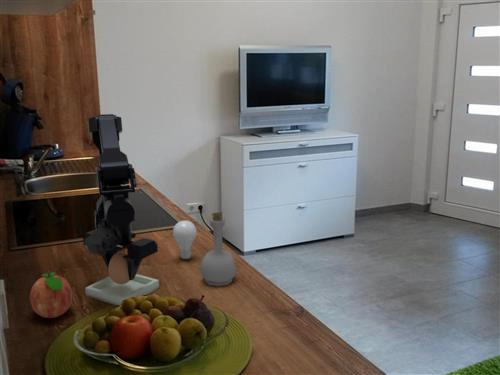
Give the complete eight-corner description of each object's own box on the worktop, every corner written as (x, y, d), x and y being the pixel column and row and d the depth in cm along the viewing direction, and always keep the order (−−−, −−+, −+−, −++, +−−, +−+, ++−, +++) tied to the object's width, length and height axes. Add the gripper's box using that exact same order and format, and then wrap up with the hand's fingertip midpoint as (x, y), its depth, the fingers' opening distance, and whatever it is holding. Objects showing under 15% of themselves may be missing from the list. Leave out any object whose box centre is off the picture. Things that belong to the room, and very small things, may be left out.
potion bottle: (210, 290, 125) (207, 218, 121) (196, 277, 133) (193, 208, 128) (242, 283, 129) (241, 213, 125) (227, 270, 137) (226, 204, 132)
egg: (104, 286, 123) (101, 254, 121) (118, 276, 128) (116, 246, 126) (126, 290, 121) (124, 258, 119) (140, 280, 126) (138, 249, 124)
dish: (85, 295, 123) (85, 287, 122) (122, 277, 133) (122, 270, 132) (123, 307, 117) (122, 299, 116) (159, 287, 127) (158, 280, 126)
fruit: (32, 328, 108) (27, 283, 106) (31, 308, 117) (26, 266, 114) (76, 319, 112) (72, 276, 109) (71, 301, 120) (67, 260, 118)
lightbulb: (193, 264, 141) (191, 225, 138) (170, 262, 142) (169, 223, 140) (200, 255, 147) (198, 218, 144) (178, 254, 148) (177, 217, 146)
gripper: (61, 216, 118) (67, 280, 122) (121, 230, 109) (126, 299, 113) (98, 204, 128) (103, 264, 131) (157, 216, 118) (160, 280, 122)
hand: (122, 276), depth 124 cm, fingers closed on egg, 6 cm apart
